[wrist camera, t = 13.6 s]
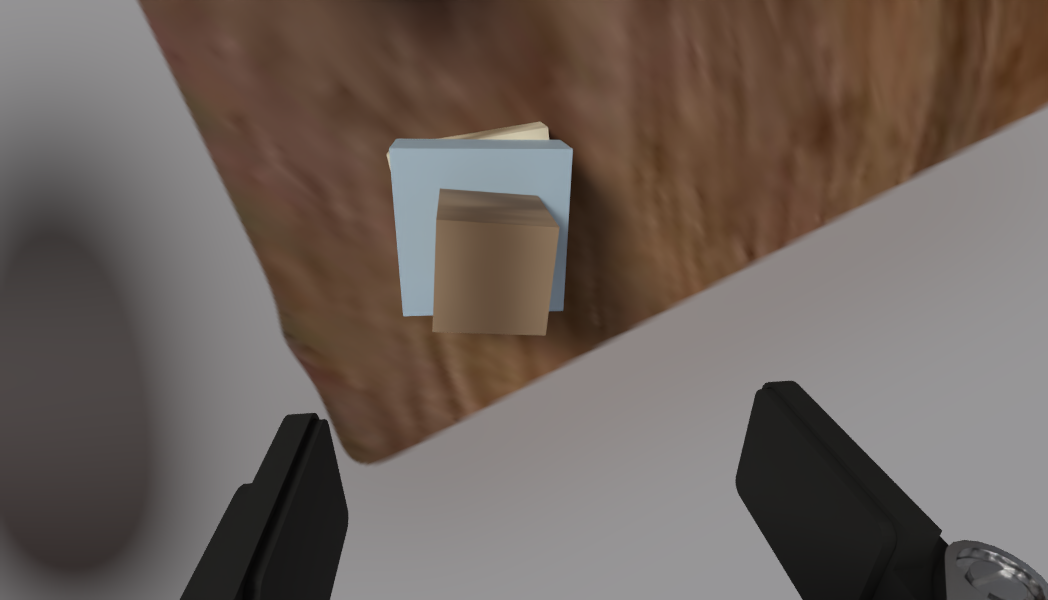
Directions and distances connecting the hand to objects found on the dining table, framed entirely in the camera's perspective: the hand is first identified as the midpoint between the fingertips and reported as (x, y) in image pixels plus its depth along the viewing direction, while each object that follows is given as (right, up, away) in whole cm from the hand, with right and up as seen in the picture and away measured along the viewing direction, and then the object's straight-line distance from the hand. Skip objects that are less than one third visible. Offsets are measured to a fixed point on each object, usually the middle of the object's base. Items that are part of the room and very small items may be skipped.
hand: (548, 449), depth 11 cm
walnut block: (-3, +6, +16) cm, 17 cm away
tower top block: (-3, +8, +19) cm, 21 cm away
